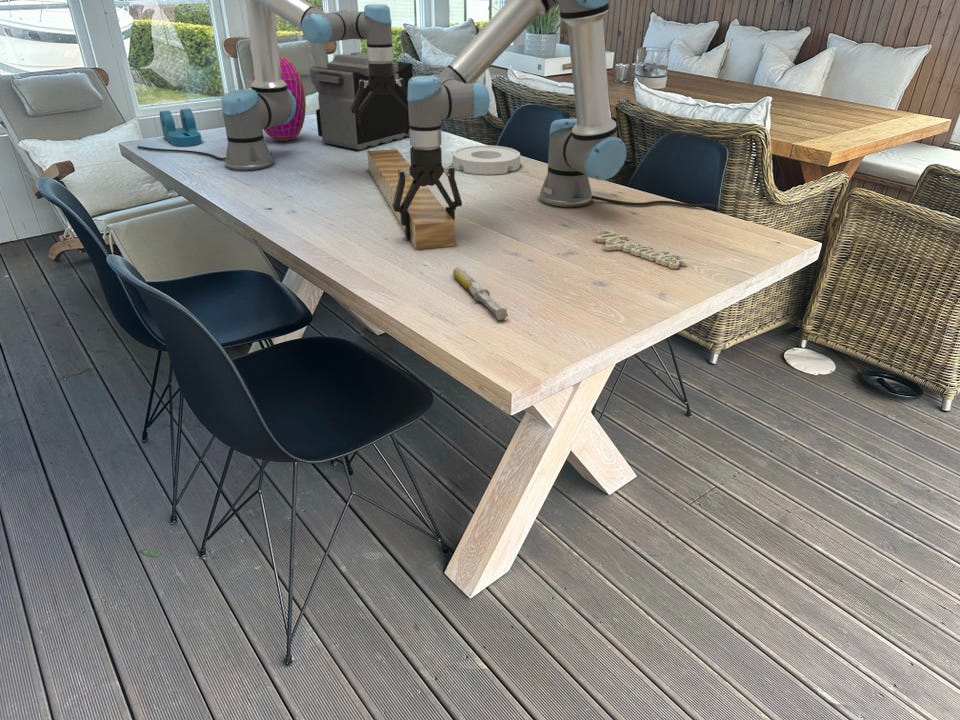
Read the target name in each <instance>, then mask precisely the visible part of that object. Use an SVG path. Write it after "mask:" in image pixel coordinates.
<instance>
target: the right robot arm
mask: <svg viewBox="0 0 960 720" xmlns="http://www.w3.org/2000/svg"><path fill="white" fill-rule="evenodd" d="M609 1H610V0H508V1H507V2H506V3H505V4H504V5H503V6H502V7H501V8H500V9H499V10H498V11H497V12H496V13H495V15H494V16H492V17H491V19H490V20H489V21H488V22H487V23H486V24H485V25H484V26H483V27H482V28H481V30H480V31H478V32H477V34H475V36H474V37H473V38H472V39H471V40H470V41H469V43H467V44H466V46H465V47H464V48H463V49H461V51H460V52H459V53H458V54H457V55H456V56H455V57H454V58H453V60H451V62H449V64H448V65H447V66H446V67H445V68H444V69H442V71H440V73H434V74H432V75H417V76H413V77H412V78H411V79H410V80H409V82H408V97H407V100H408V110H409V130H410V137H409V145H410V146H411V147H410V148H409V153H410V155H409V156H410V157H409V158H410V169H409V170H404V171H402V170H398V177H399V180H398V184H397V189H396V193H395V197H394V202H393V206H392V207H393V209H394V211H395V212H400V218H401V224H402V225H403V226H405V230H404V233H405V237H406V239H407V240H410V216H409V212H408V211H407V210H408V208H409V206H410V204H411V202H412V200H413V198H414V196H415V194H416V192H417V190H418V189H419V188H420V186H427V187H428V186H429V187H433V186H436V188H437V189H438V191H439V193H440V194H441V196H442V198H443V199H444V201H445V202H446V204H447V205H448V206H445V207H444V209H445V210H446V211H447V212H448V214H449V215H450V216H451V217H452V219H453V220H454V221H455V220H456V210H457V208H458V207H462V206H463V201H462V198H461V195H460V192H459V188H458V185H457V181H456V178H455V176H456V169H455V168H454V167H453V166H452V165H449V166H448V167H446V166H445V167H444V166H443V164H442V163H443V158H442V147H441V145H442V120H450V119H451V120H452V119H465V118H477V117H483V116H485V115H486V114H487V113H488V111H489V109H490V105H491V104H490V103H491V99H490V92H489V89H488V88H487V85H486V84H484V83H482V82H477V80H479V78H480V77H481V76H482V75H483V74H484V73H485V72H486V71H487V70H488V69H489V68H490V67H491V66H492V65H493V64H494V62H495V61H496V60H497V59H499V57H501V55H502V54H503V53H504V52H505V51H506V50H507V49H508V48H509V47H510V45H512V44H513V43H514V42H515V40H516V39H517V38H518V37H519V36H521V34H522V33H523V32H524V31H525V30H527V28H528V27H529V26H530V24H531V23H533V22H534V21H535V20H536V18H538V17H544V16H545V15H546V14H547V13H548V12H549V11H550V10H551V9H553V8H555V7H556V6H558V8H559V17H560V20H561V21H562V22H563V23H565V24H566V25H567V34H568V35H567V36H568V46H569V54H570V66H571V75H572V86H573V97H574V104H575V105H574V107H575V115H576V118H562V119H554V120H553V121H552V122H551V124H550V127H549V128H550V129H549V134H548V136H549V141H548V142H549V143H548V156H547V157H548V159H547V173H546V176H545V178H544V181H543V184H542V187H541V189H540V192H539V200H540V202H542V203H543V204H546V205H549V206H553V207H558V208H559V207H560V208H580V207H584V206H588V205H589V204H591V203H592V199H593V200H596V201H601V202H606V203H611V204H617V205H623V206H635V207H645V206H650V205H662V204H663V205H674V206H681V207H687V208H706V207H707V208H712V209H713V210H715V212H721V210H720V207H718V206H717V205H716V204H712V203H695V204H694V203H687V202H681V201H673V200H652V201H643V202H635V201H633V202H632V201H623V200H616V199H612V198H611V199H610V198H606V197H601V196H596V195H593V193H592V188H591V184H590V179H594V180H598V181H605V180H609V179H611V178H613V177H615V175H617V174H618V173H619V172H620V170H621V168H622V167H623V166H624V164H625V162H626V159H627V146H626V143H625V142H624V141H623V140H622V139H621V138H620V137H618V129H617V128H618V127H617V122H616V120H614V119H613V118H611V111H610V97H609V81H608V71H607V70H608V69H607V54H606V43H605V26H604V19H605V16H606V15H607V13H608V12H609V10H610V4H609ZM443 174H444V175H445V176H446V177H447V180H448V184H449V186H450V190H451V193H452V196H453V199H454V200H452V199H451V197H450V195H449V194H448V192H447V190H446V188H445V187H444V185H443V184H442V182H441V180H440V178H441V177H442V175H443ZM409 175H411V176H412V177H413V181H412V183H411V187H410V189H409V191H408V193H407V195H406V196H405V198H404V200H403V202H402V204H401V199H402V195H403V191H404V187H405V180H407V179H408V176H409ZM400 204H401V206H400ZM401 224H400V225H401ZM402 225H401V226H402Z"/></svg>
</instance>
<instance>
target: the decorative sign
mask: <svg viewBox="0 0 960 720" xmlns="http://www.w3.org/2000/svg"><path fill="white" fill-rule="evenodd" d="M595 242H597V243H604V244H605V245H604V251H607V252H608V251H623V252H625V253H630V254H631V255H634V256H636V257H640V258H642V259H645V260H649V261H650V262H655V263H656V264H657V265H658V264H659V265H661V266H665V267H668V268H670V269H673V270H675V269H679V268H680V266H682V267H685V266H686V260H684V259H680V254H679V253H670V250H666V249H665V250H654V246H651V245H650V244H643V243H632V242H631V241H628V235H626V234H621V235H616V231H613V230H608V229H607V230H606V229H604V230H602V234H598V235H596V237H595Z"/></svg>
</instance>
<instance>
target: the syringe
mask: <svg viewBox="0 0 960 720" xmlns="http://www.w3.org/2000/svg"><path fill="white" fill-rule="evenodd" d="M452 274H453V277H454V279H455V280H457V281H458V282H459V283H460V285H462V287H464V289H466V290H467V291H468V293H470V295H471V296H472V298H473V300H474V302H477V303H478V302H480V303H482V304H483V305H484V306H485V307H486V308H487V309H488V310H489V311H490V312H491V313H492V314H493V315H494V316H495V317H496V320H497V321H503V320H504V319H506V318H507V317H509V314H508V310H507V308H506V307H502V306H501V305H500V303H498V302H497V301H496V300H494V299H493V298H492V297H491V296H490V295H491V293H490V290H488V289H486V288H483V287H482V286H481V285H480V284H479V283H478V282H477V281H476V280H474V278H473V277H471V275H469V274H468V273H467V272H466V270H465V269H464V268H463V267H462V266H456V267H454V268H453V271H452Z"/></svg>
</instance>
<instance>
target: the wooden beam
mask: <svg viewBox="0 0 960 720" xmlns="http://www.w3.org/2000/svg"><path fill="white" fill-rule="evenodd" d="M366 153H367V155H366V156H367V167H368V169H367V170H368V172H369V173H370V175H371V177H372V179H373V180H374V182H375V184H376V185H377V187H378V189H379V190H380V192H381V193H382V195H383V197H384V198H385V200H386V202H387V204H388V206H389V207H390V208H391V210H392V212H393V214H394V215H395V217H396V218H397V220H398V223H400V225H401V227H402V228H403V229H402V230H404V231H405V226H403V225H402V224H401V218H400V212H395V211H394V209H393V207H392V206H393V202H394V197H395V193H396V189H397V184H398V180H399V177H398V170H402V171H404V170H409V169H410V166H411V164H410V163H409V162H408V161H407V160H406V158H405V157H404V156H403V154H401V152H400V151H398V149H397V148H396V149H395V148H394V149H378V150H377V149H376V150H367V151H366ZM412 181H413V177H412V176H411V175H409V176H408V179H407V180H405V187H404V191H403V195H402V199H401V204H402V202H403V200H404V198H405V196H406V195H407V193H408V191H409V189H410V187H411V183H412ZM401 204H400V206H401ZM407 211H408V212H409V216H410V239H409V240H410V242H411V244H412V246H413V248H414V249H415V250H416V251H418V250H427V249H428V250H429V249H437V248H447V247H455V246H456V221H455V220H453V219H452V217H451V216H450V215H449V214H448V212H447V211H446V210H445V207H444V206H443V205H442V203H441V202H440V201H439V199H438V198H437V197H436V195H434V193H433V192H432V191H431V190H430V189H429V188H428V185H427V186H420V188H419V189H418V190H417V192H416V194H415V196H414V198H413V200H412V202H411V204H410V206H409V208H408V210H407Z"/></svg>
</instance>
